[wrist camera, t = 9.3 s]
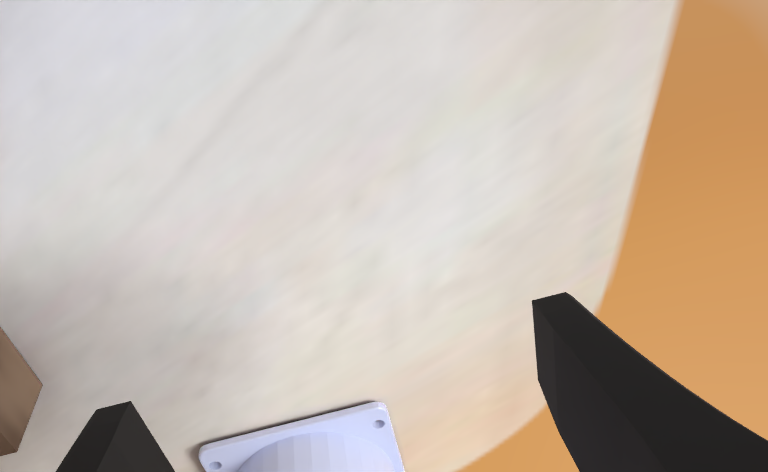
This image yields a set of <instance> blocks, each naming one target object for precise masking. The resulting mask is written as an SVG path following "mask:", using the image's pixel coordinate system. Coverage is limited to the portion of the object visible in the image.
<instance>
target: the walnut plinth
mask: <svg viewBox="0 0 768 472" xmlns="http://www.w3.org/2000/svg"><path fill="white" fill-rule="evenodd" d="M41 388H42V383H41V382H40V381H39V379H38V378H37V377H36V375H35V374H34V372H33V371H32V370H31V368H30V367H29V366H28V364H27V363H26V361H25V360H24V359H23V357H22V356H21V355H20V353H19V352H18V351H17V349H16V348H15V346H14V345H13V344H12V342H11V341H10V340H9V338H8V337H7V335H6V334H5V333H4V331H3V330H2V329H1V327H0V456H3V455H7V454H11V453H15V452H17V451H18V448H19V445H20V443H21V440H22V437H23V435H24V432H25V430H26V427H27V424H28V422H29V419H30V417H31V414H32V411H33V409H34V406H35V403H36V401H37V398H38V396H39V393H40V390H41Z"/></svg>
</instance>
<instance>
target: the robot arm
mask: <svg viewBox="0 0 768 472" xmlns="http://www.w3.org/2000/svg"><path fill="white" fill-rule="evenodd" d="M532 306H533V320H534V333H535V346H536V359H537V372H538V381H539V383H540V386H541V388H542V391H543V394H544V396H545V399H546V401H547V404H548V407H549V409H550V412H551V414H552V416H553V419H554V421H555V424H556V426H557V429H558V431H559V433H560V435H561V437H562V439H563V441H564V443H565V445H566V447H567V448H568V450H569V452H570V454H571V456H572V458H573V460H574V462H575V463H576V465H577V467H578V469H579V471H580V472H768V441H767V440H766V439H764V438H762V437H761V436H759V435H757V434H756V433H754V432H752V431H751V430H749V429H747V428H746V427H744V426H743V425H741V424H739V423H738V422H736V421H734V420H733V419H731V418H730V417H728V416H727V415H725V414H724V413H722V412H721V411H719V410H718V409H716V408H715V407H713V406H712V405H710V404H709V403H707V402H706V401H704V400H703V399H701V398H700V397H699V396H697V395H696V394H694V393H693V392H691V391H690V390H688V389H686V388H685V387H684V386H683V385H681V384H680V383H679V382H677V381H676V380H675V379H673V378H672V377H670V376H669V375H668V374H666V373H665V372H664V371H662V370H661V369H660V368H658V367H657V366H656V365H655V364H653V363H652V362H651V361H649V360H648V359H647V358H645V357H644V356H643V355H641V354H640V353H639V352H637V351H636V350H635V349H634V348H633V347H631V346H630V345H629V344H627V343H626V342H625V341H624V340H623V339H621V338H620V337H619V336H618V335H616V334H615V333H614V332H613V331H612V330H611V329H609V328H608V327H607V326H606V325H605V324H603V323H602V322H601V321H600V320H599V319H598V318H596V317H595V316H594V315H593V314H592V313H591V312H589V311H588V310H587V309H586V308H585V307H584V306H583V305H581V304H580V303H579V302H578V301H577V300H576V299H575V298H574V297H573V296H571V295H570V294H568V293H566V292H564V293H560V294H556V295H552V296H548V297H544V298H540V299H536V300H532ZM377 420H379V421H377ZM199 461H200V462H201V464H202V466H203V468H204V469H205V471H206V472H405V470H404V466H403V463H402V459H401V456H400V452H399V449H398V445H397V441H396V438H395V434H394V431H393V427H392V424H391V420H390V417H389V413H388V410H387V407H386V405H385V404H383V403H382V402H371V403H367V404H363V405H360V406H356V407H352V408H348V409H344V410H340V411H336V412H332V413H328V414H324V415H320V416H316V417H312V418H308V419H304V420H300V421H296V422H292V423H288V424H284V425H280V426H276V427H272V428H268V429H264V430H260V431H256V432H252V433H248V434H245V435H241V436H237V437H233V438H229V439H225V440H221V441H217V442H213V443H209V444H206V445H204V446H202V447H201V448H200V450H199ZM216 461H217V462H216ZM56 472H175V471H174V469H173V468H172V466H171V464H170V463H169V461H168V460H167V458H166V457H165V455H164V453H163V452H162V450H161V449H160V447H159V445H158V444H157V442H156V441H155V439H154V437H153V436H152V434H151V433H150V431H149V429H148V428H147V426H146V425H145V423H144V421H143V420H142V418H141V417H140V415H139V413H138V412H137V410H136V409H135V407H134V405H133V404H132V402H131V401H129V402H125V403H121V404H117V405H113V406H109V407H105V408H101V409H97V410H96V411H95V413H94V414H93V416H92V417H91V418H90V420H89V421H88V423H87V424H86V426H85V427H84V429H83V430H82V432H81V434H80V435H79V437H78V438H77V440H76V441H75V443H74V444H73V446H72V447H71V449H70V450H69V452H68V454H67V455H66V457H65V458H64V460H63V461H62V463H61V464H60V466H59V467H58V469H57V470H56Z"/></svg>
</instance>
